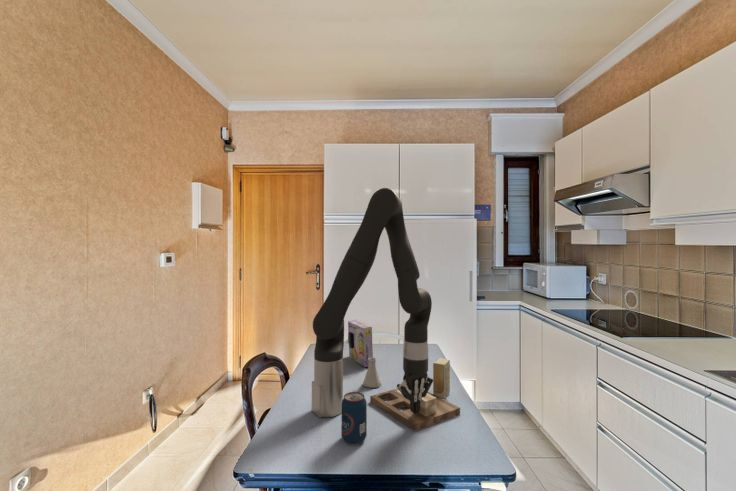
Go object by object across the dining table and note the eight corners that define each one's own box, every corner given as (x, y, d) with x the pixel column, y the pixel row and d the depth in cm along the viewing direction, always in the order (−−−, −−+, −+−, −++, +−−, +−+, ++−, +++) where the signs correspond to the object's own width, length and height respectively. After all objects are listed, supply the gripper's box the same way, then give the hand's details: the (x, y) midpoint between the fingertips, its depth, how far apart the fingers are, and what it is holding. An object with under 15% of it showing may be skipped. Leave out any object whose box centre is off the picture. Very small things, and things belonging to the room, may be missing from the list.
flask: (379, 389, 133) (379, 362, 133) (360, 387, 134) (360, 361, 134) (382, 382, 140) (382, 356, 140) (364, 380, 141) (364, 355, 141)
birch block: (425, 416, 108) (425, 401, 108) (415, 410, 111) (415, 396, 111) (436, 412, 110) (436, 397, 110) (426, 406, 114) (426, 392, 114)
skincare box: (438, 390, 132) (438, 357, 132) (450, 393, 130) (450, 359, 130) (432, 396, 126) (432, 362, 126) (444, 399, 124) (444, 364, 124)
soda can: (336, 439, 98) (336, 396, 98) (354, 430, 103) (354, 389, 103) (353, 449, 93) (353, 404, 93) (371, 439, 98) (371, 396, 98)
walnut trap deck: (415, 431, 103) (415, 424, 103) (370, 401, 122) (370, 396, 122) (460, 414, 113) (460, 407, 113) (412, 389, 133) (412, 384, 133)
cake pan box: (347, 356, 172) (347, 319, 172) (356, 354, 174) (356, 318, 174) (363, 368, 155) (363, 327, 155) (373, 366, 157) (373, 326, 157)
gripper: (406, 362, 101) (405, 423, 101) (440, 354, 108) (439, 411, 108) (390, 355, 108) (390, 412, 108) (423, 348, 115) (423, 402, 115)
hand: (415, 412), depth 108 cm, fingers closed
